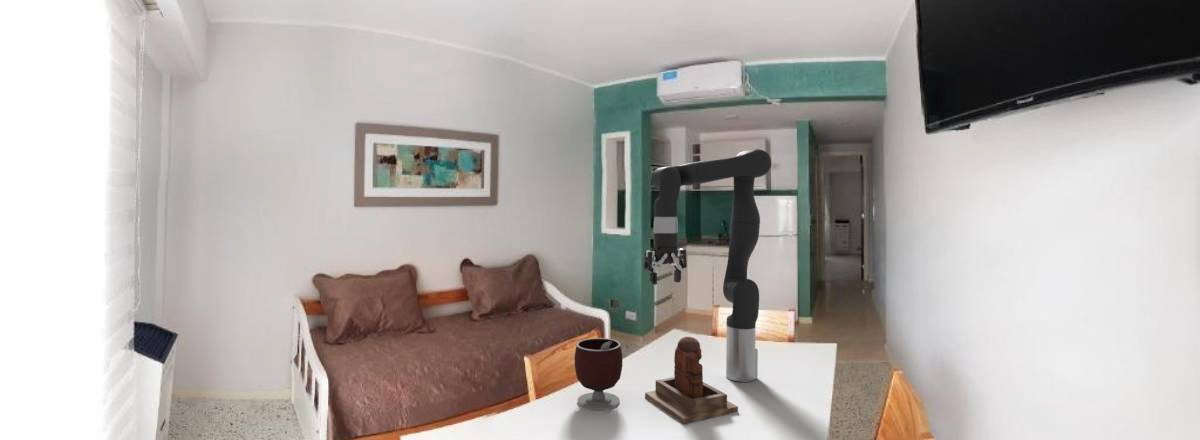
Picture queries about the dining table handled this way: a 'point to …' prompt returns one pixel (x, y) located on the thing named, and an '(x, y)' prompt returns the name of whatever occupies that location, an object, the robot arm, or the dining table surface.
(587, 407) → the mate gourd
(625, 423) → the dining table surface
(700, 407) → the cradle
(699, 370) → the wooden figurine
